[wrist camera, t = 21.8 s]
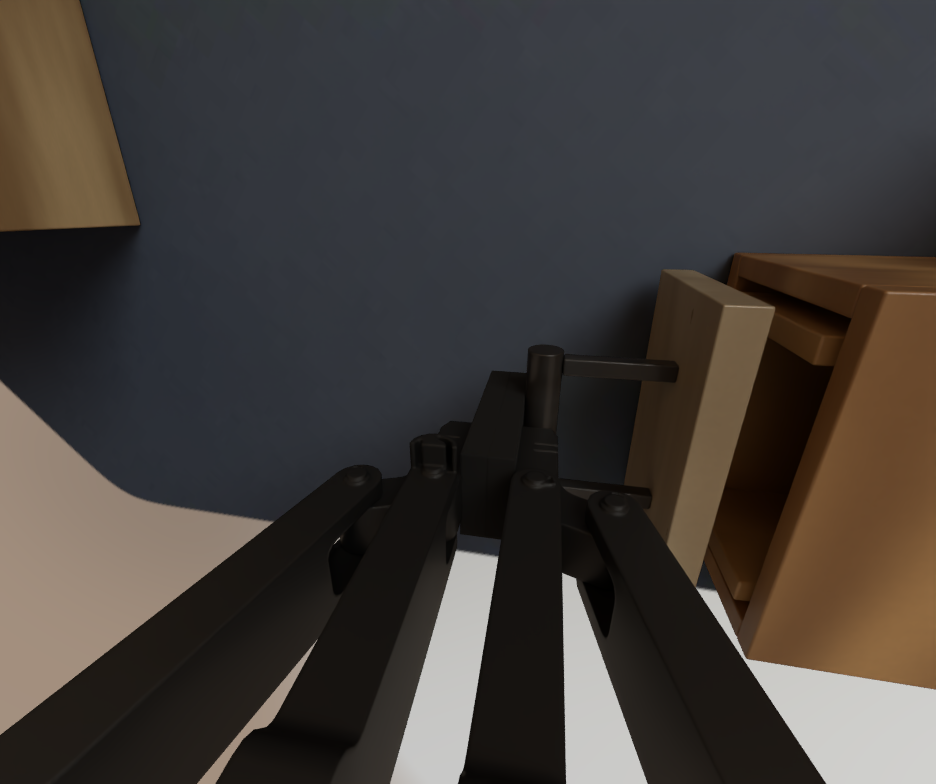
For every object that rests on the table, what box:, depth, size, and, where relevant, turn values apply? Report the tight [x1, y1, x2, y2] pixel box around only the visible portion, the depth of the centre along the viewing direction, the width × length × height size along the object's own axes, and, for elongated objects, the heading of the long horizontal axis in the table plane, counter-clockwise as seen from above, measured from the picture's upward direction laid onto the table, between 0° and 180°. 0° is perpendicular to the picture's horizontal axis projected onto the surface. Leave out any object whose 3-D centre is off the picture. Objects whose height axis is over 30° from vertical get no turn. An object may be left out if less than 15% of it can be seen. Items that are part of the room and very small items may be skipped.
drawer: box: [523, 269, 852, 601], centre depth 15 cm, size 18×10×7 cm, turn 90°
